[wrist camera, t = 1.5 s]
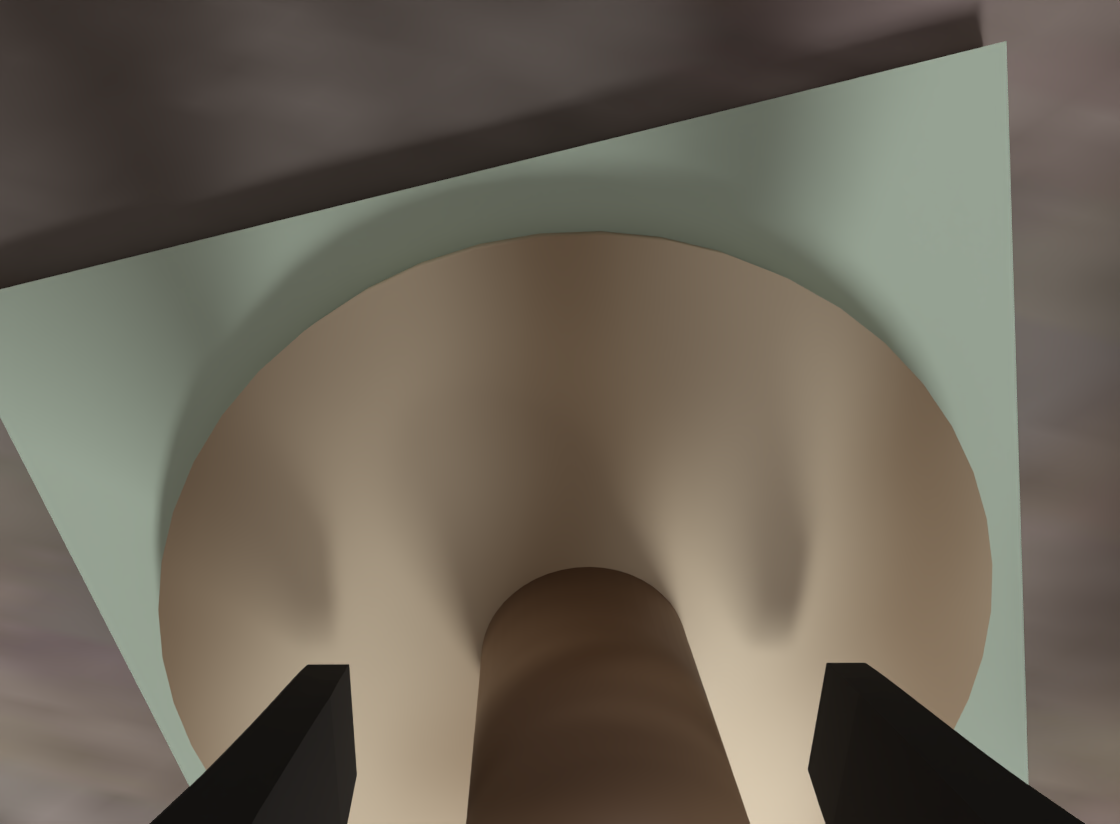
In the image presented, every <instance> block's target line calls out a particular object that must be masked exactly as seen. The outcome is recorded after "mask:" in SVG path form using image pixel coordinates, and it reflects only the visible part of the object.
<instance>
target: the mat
mask: <svg viewBox="0 0 1120 824" xmlns="http://www.w3.org/2000/svg"><path fill="white" fill-rule="evenodd" d="M591 231H604V232H614V233H625V234H635V235H646V236H656V237H663V238H667V239H671V240H675V241H680V242H684V243H688V244H692V245H696V246H701V247H705V248H709V249H713V250H718V251H720V252H723V253H725V254H728V255H730V256H733V257H736V258H738V259H741V260H743V261H746V262H748V263H751V264H753V265H756V266H759V267H761V268H764V269H766V270H769V271H771V272H774V273H776V274H778V275H781V276H783V277H785V278H788V279H790V280H792V281H793V282H795V283H797V284H799V285H800V286H802V287H804V288H806V289H808V290H809V291H811V292H813V293H815V294H816V295H818V296H820V297H822V298H823V299H825V300H827V301H829V302H830V303H832V304H834V305H836V306H837V307H839V308H841V309H842V310H843V311H845V312H846V313H847V314H849V315H850V316H851V317H852V318H854V319H855V320H856V321H858V322H859V323H860V324H861V325H863V326H864V327H865V328H866V329H868V330H869V331H870V332H872V333H873V334H874V335H875V336H877V337H878V338H879V339H880V340H882V341H883V342H884V343H886V345H887V346H888V347H889V348H890V349H891V350H892V351H893V352H894V353H895V354H896V355H897V356H898V357H899V358H900V359H901V361H902V362H903V363H904V364H905V365H906V366H907V367H908V368H909V369H910V370H911V371H912V372H913V373H914V374H915V375H916V376H917V378H918V379H919V380H920V381H921V382H922V383H923V384H924V386H925V387H926V389H927V390H928V392H929V393H930V395H931V396H932V398H933V399H934V400H935V402H936V403H937V405H938V406H939V408H940V409H941V411H942V412H943V414H944V415H945V417H946V418H947V420H948V421H949V423H950V424H951V425H952V427H953V429H954V431H955V434H956V436H957V438H958V440H959V442H960V444H961V446H962V449H963V451H964V453H965V455H966V457H967V459H968V461H969V463H970V466H971V468H972V470H973V472H974V476H975V479H976V483H977V486H978V490H979V493H980V497H981V500H982V504H983V507H984V511H985V514H986V517H987V524H988V533H989V541H990V549H991V557H992V565H993V566H992V597H991V615H990V620H989V626H988V631H987V637H986V642H985V648H984V653H983V658H982V661H981V664H980V667H979V670H978V673H977V676H976V679H975V682H974V685H973V688H972V691H971V694H970V697H969V700H968V702H967V704H966V706H965V708H964V710H963V712H962V714H961V716H960V718H959V720H958V722H957V724H956V726H955V728H954V730H955V731H956V732H958V733H959V734H960V735H962V736H963V737H964V738H965V739H967V740H968V741H969V742H971V743H972V744H973V745H975V746H976V747H977V748H979V749H980V750H981V751H983V752H984V753H985V754H987V755H988V756H989V757H991V758H992V759H993V760H995V761H996V762H998V763H999V764H1000V765H1002V766H1003V767H1004V768H1006V769H1007V770H1008V771H1010V772H1011V773H1013V774H1014V775H1015V776H1017V777H1018V778H1020V779H1021V780H1022V781H1024V782H1025V783H1026V784H1028V754H1027V721H1026V687H1025V653H1024V619H1023V586H1022V552H1021V518H1020V484H1019V451H1018V417H1017V383H1016V349H1015V316H1014V282H1013V248H1012V214H1011V181H1010V147H1009V113H1008V79H1007V46H1006V41H1005V42H1001V43H997V44H993V45H989V46H984V47H980V48H976V49H972V50H968V51H964V52H960V53H956V54H952V55H948V56H944V57H940V58H936V59H932V60H928V61H924V62H920V63H916V64H912V65H907V66H903V67H899V68H895V69H891V70H887V71H883V72H879V73H875V74H871V75H867V76H863V77H859V78H855V79H851V80H847V81H843V82H839V83H835V84H830V85H826V86H822V87H818V88H814V89H810V90H806V91H802V92H798V93H794V94H790V95H786V96H782V97H778V98H774V99H770V100H766V101H762V102H758V103H753V104H749V105H745V106H741V107H737V108H733V109H729V110H725V111H721V112H717V113H713V114H709V115H705V116H701V117H697V118H693V119H689V120H685V121H681V122H676V123H672V124H668V125H664V126H660V127H656V128H652V129H648V130H644V131H640V132H636V133H632V134H628V135H624V136H620V137H616V138H612V139H608V140H604V141H599V142H595V143H591V144H587V145H583V146H579V147H575V148H571V149H567V150H563V151H559V152H555V153H551V154H547V155H543V156H539V157H535V158H531V159H527V160H522V161H518V162H514V163H510V164H506V165H502V166H498V167H494V168H490V169H486V170H482V171H478V172H474V173H470V174H466V175H462V176H458V177H454V178H450V179H445V180H441V181H437V182H433V183H429V184H425V185H421V186H417V187H413V188H409V189H405V190H401V191H397V192H393V193H389V194H385V195H381V196H377V197H373V198H368V199H364V200H360V201H356V202H352V203H348V204H344V205H340V206H336V207H332V208H328V209H324V210H320V211H316V212H312V213H308V214H304V215H300V216H296V217H291V218H287V219H283V220H279V221H275V222H271V223H267V224H263V225H259V226H255V227H251V228H247V229H243V230H239V231H235V232H231V233H227V234H223V235H219V236H215V237H210V238H206V239H202V240H198V241H194V242H190V243H186V244H182V245H178V246H174V247H170V248H166V249H162V250H158V251H154V252H150V253H146V254H142V255H138V256H133V257H129V258H125V259H121V260H117V261H113V262H109V263H105V264H101V265H97V266H93V267H89V268H85V269H81V270H77V271H73V272H69V273H65V274H61V275H56V276H52V277H48V278H44V279H40V280H36V281H32V282H28V283H24V284H20V285H16V286H12V287H8V288H4V289H0V418H1V420H2V422H3V424H4V426H5V427H6V429H7V431H8V433H9V435H10V437H11V439H12V441H13V443H14V445H15V447H16V449H17V451H18V453H19V455H20V457H21V459H22V461H23V463H24V465H25V466H26V468H27V470H28V472H29V474H30V476H31V478H32V480H33V482H34V484H35V486H36V488H37V490H38V492H39V494H40V496H41V498H42V500H43V502H44V504H45V505H46V507H47V509H48V511H49V513H50V515H51V517H52V519H53V521H54V523H55V525H56V527H57V529H58V531H59V533H60V535H61V537H62V539H63V541H64V543H65V544H66V546H67V548H68V550H69V552H70V554H71V556H72V558H73V560H74V562H75V564H76V566H77V568H78V570H79V572H80V574H81V576H82V578H83V580H84V582H85V583H86V585H87V587H88V589H89V591H90V593H91V595H92V597H93V599H94V601H95V603H96V605H97V607H98V609H99V611H100V613H101V615H102V617H103V619H104V621H105V622H106V624H107V626H108V628H109V630H110V632H111V634H112V636H113V638H114V640H115V642H116V644H117V646H118V648H119V650H120V652H121V654H122V656H123V658H124V660H125V661H126V663H127V665H128V667H129V669H130V671H131V673H132V675H133V677H134V679H135V681H136V683H137V685H138V687H139V689H140V691H141V693H142V695H143V697H144V699H145V700H146V702H147V704H148V706H149V708H150V710H151V712H152V714H153V716H154V718H155V720H156V722H157V724H158V726H159V728H160V730H161V732H162V734H163V736H164V738H165V739H166V741H167V743H168V745H169V747H170V749H171V751H172V753H173V755H174V757H175V759H176V761H177V763H178V765H179V767H180V769H181V771H182V773H183V775H184V777H185V778H186V780H187V782H188V784H189V786H191V785H192V784H193V783H194V782H195V781H196V780H197V779H198V778H199V777H200V776H201V775H202V774H203V773H204V772H205V771H206V769H205V767H204V766H203V764H202V762H201V761H200V759H199V757H198V756H197V754H196V752H195V751H194V749H193V747H192V746H191V743H190V741H189V738H188V736H187V734H186V731H185V729H184V726H183V724H182V722H181V719H180V717H179V715H178V712H177V710H176V707H175V705H174V702H173V698H172V694H171V690H170V686H169V682H168V678H167V674H166V670H165V666H164V662H163V658H162V647H161V636H160V625H159V614H158V606H159V592H160V577H161V563H162V558H163V553H164V549H165V545H166V540H167V536H168V532H169V528H170V523H171V519H172V515H173V511H174V509H175V506H176V504H177V501H178V499H179V496H180V494H181V491H182V489H183V487H184V484H185V482H186V479H187V477H188V474H189V472H190V469H191V467H192V464H193V462H194V461H195V459H196V457H197V456H198V454H199V452H200V451H201V449H202V447H203V446H204V444H205V442H206V441H207V439H208V437H209V436H210V434H211V433H212V431H213V429H214V428H215V426H216V424H217V423H218V421H219V419H220V418H221V416H222V415H223V413H224V412H225V411H226V410H227V409H228V407H229V406H230V405H231V404H232V403H233V402H234V400H235V399H236V398H237V397H238V396H239V394H240V393H241V392H242V391H243V390H244V388H245V387H246V386H247V385H248V384H249V382H250V381H251V380H252V379H253V378H254V376H255V375H256V374H257V373H258V372H259V371H260V370H261V369H262V368H263V367H264V366H265V365H266V364H268V363H269V362H270V361H271V360H272V359H273V358H274V357H275V356H277V355H278V354H279V353H280V352H281V351H282V350H283V349H284V348H286V347H287V346H288V345H289V344H290V343H291V342H292V341H293V340H295V339H296V338H297V337H298V336H299V335H300V334H301V333H302V332H304V331H305V330H306V329H308V328H309V327H310V326H312V325H313V324H314V323H316V322H317V321H318V320H320V319H321V318H323V317H324V316H326V315H327V314H329V313H330V312H332V311H333V310H335V309H336V308H338V307H339V306H341V305H343V304H344V303H346V302H347V301H349V300H350V299H352V298H353V297H355V296H356V295H358V294H359V293H361V292H362V291H364V290H365V289H367V288H369V287H371V286H373V285H375V284H377V283H379V282H381V281H383V280H385V279H387V278H390V277H392V276H394V275H396V274H398V273H400V272H402V271H404V270H406V269H408V268H411V267H413V266H415V265H417V264H419V263H421V262H424V261H427V260H430V259H434V258H437V257H440V256H443V255H446V254H449V253H452V252H456V251H459V250H462V249H465V248H468V247H471V246H474V245H478V244H482V243H488V242H494V241H499V240H505V239H511V238H516V237H522V236H528V235H533V234H539V233H565V232H591Z"/></svg>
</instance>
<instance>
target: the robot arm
mask: <svg viewBox="0 0 1120 824" xmlns="http://www.w3.org/2000/svg"><path fill="white" fill-rule="evenodd" d="M808 772H809V775H810V778H811V782H812V785H813V788H814V791H815V794H816V797H817V800H818V804H819V807H820V810H821V812H822V815H823V818H824V821H825V824H1085V823H1083V822H1082V821H1080V820H1079V819H1077V818H1076V817H1074V816H1073V815H1071V814H1070V813H1068V812H1067V811H1065V810H1064V809H1063V808H1061V807H1060V806H1058V805H1057V804H1055V803H1054V802H1052V801H1051V800H1050V799H1048V798H1047V797H1045V796H1044V795H1042V794H1041V793H1039V792H1038V791H1037V790H1035V789H1034V788H1032V787H1031V786H1029V785H1028V784H1026V783H1025V782H1024V781H1022V780H1021V779H1020V778H1018V777H1017V776H1015V775H1014V774H1013V773H1011V772H1010V771H1008V770H1007V769H1006V768H1004V767H1003V766H1002V765H1000V764H999V763H998V762H996V761H995V760H993V759H992V758H991V757H989V756H988V755H987V754H985V753H984V752H983V751H981V750H980V749H979V748H977V747H976V746H975V745H973V744H972V743H971V742H969V741H968V740H967V739H965V738H964V737H963V736H962V735H960V734H959V733H958V732H956V731H955V730H954V729H952V728H951V727H950V726H949V725H947V724H946V723H945V722H943V721H942V720H941V719H939V718H938V717H937V716H936V715H934V714H933V713H932V712H930V711H929V710H928V709H927V708H925V707H924V706H923V705H921V704H920V703H919V702H918V701H916V700H915V699H914V698H912V697H911V696H910V695H909V694H907V693H906V692H905V691H903V690H902V689H901V688H899V687H898V686H897V685H896V684H894V683H893V682H892V681H890V680H889V679H888V678H886V677H885V676H884V675H882V674H881V673H879V672H878V671H877V670H875V669H874V668H872V667H871V666H870V665H868V664H867V663H826V668H825V674H824V679H823V685H822V691H821V696H820V702H819V708H818V713H817V719H816V725H815V730H814V736H813V742H812V747H811V753H810V759H809V764H808ZM356 777H357V768H356V754H355V740H354V725H353V711H352V697H351V682H350V668H349V664H307V665H306V666H305V667H304V668H303V669H302V670H301V671H300V672H299V673H298V674H297V675H296V676H295V677H294V678H293V679H292V680H291V682H290V683H289V684H288V685H287V686H286V687H285V688H284V689H283V690H282V691H281V692H280V694H279V695H278V696H277V697H276V698H275V699H274V700H273V701H272V702H271V703H270V704H269V706H268V707H267V708H266V709H265V710H264V711H263V712H262V713H261V714H260V715H259V716H258V717H257V718H256V719H255V721H254V722H253V723H252V724H251V725H250V726H249V727H248V728H247V729H246V730H245V731H244V732H243V733H242V734H241V735H240V736H239V737H238V738H237V739H236V740H235V741H234V742H233V744H232V745H231V746H230V747H229V748H228V749H227V750H226V751H225V752H224V753H223V754H222V755H221V756H220V757H219V758H218V759H217V760H216V761H215V762H214V763H213V764H212V765H211V766H210V767H209V768H208V769H207V770H206V771H205V772H204V773H203V774H202V775H201V776H200V777H199V778H198V779H197V780H196V781H195V782H194V783H193V784H192V785H191V786H189V787H188V788H187V789H186V790H185V791H184V792H183V793H182V794H181V795H180V796H179V797H178V798H177V799H176V800H175V801H173V802H172V803H171V804H170V805H169V806H168V807H167V808H166V809H165V810H164V811H163V812H162V813H161V814H160V815H158V816H157V817H156V818H155V819H154V820H153V821H152V822H151V823H150V824H347V823H348V818H349V813H350V808H351V803H352V798H353V792H354V787H355V782H356Z"/></svg>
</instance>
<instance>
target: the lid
mask: <svg viewBox="0 0 1120 824" xmlns="http://www.w3.org/2000/svg"><path fill="white" fill-rule="evenodd" d="M992 566H993V565H992V557H991V549H990V541H989V533H988V524H987V517H986V514H985V511H984V507H983V504H982V500H981V497H980V493H979V490H978V486H977V483H976V479H975V476H974V472H973V470H972V468H971V466H970V463H969V461H968V459H967V457H966V455H965V453H964V451H963V449H962V446H961V444H960V442H959V440H958V438H957V436H956V434H955V431H954V429H953V427H952V425H951V424H950V423H949V421H948V420H947V418H946V417H945V415H944V414H943V412H942V411H941V409H940V408H939V406H938V405H937V403H936V402H935V400H934V399H933V398H932V396H931V395H930V393H929V392H928V390H927V389H926V387H925V386H924V384H923V383H922V382H921V381H920V380H919V379H918V378H917V376H916V375H915V374H914V373H913V372H912V371H911V370H910V369H909V368H908V367H907V366H906V365H905V364H904V363H903V362H902V361H901V359H900V358H899V357H898V356H897V355H896V354H895V353H894V352H893V351H892V350H891V349H890V348H889V347H888V346H887V345H886V343H884V342H883V341H882V340H880V339H879V338H878V337H877V336H875V335H874V334H873V333H872V332H870V331H869V330H868V329H866V328H865V327H864V326H863V325H861V324H860V323H859V322H858V321H856V320H855V319H854V318H852V317H851V316H850V315H849V314H847V313H846V312H845V311H843V310H842V309H841V308H839V307H837V306H836V305H834V304H832V303H830V302H829V301H827V300H825V299H823V298H822V297H820V296H818V295H816V294H815V293H813V292H811V291H809V290H808V289H806V288H804V287H802V286H800V285H799V284H797V283H795V282H793V281H792V280H790V279H788V278H785V277H783V276H781V275H778V274H776V273H774V272H771V271H769V270H766V269H764V268H761V267H759V266H756V265H753V264H751V263H748V262H746V261H743V260H741V259H738V258H736V257H733V256H730V255H728V254H725V253H723V252H720V251H718V250H713V249H709V248H705V247H701V246H696V245H692V244H688V243H684V242H680V241H675V240H671V239H667V238H663V237H656V236H646V235H635V234H625V233H614V232H604V231H591V232H565V233H539V234H533V235H528V236H522V237H516V238H511V239H505V240H499V241H494V242H488V243H482V244H478V245H474V246H471V247H468V248H465V249H462V250H459V251H456V252H452V253H449V254H446V255H443V256H440V257H437V258H434V259H430V260H427V261H424V262H421V263H419V264H417V265H415V266H413V267H411V268H408V269H406V270H404V271H402V272H400V273H398V274H396V275H394V276H392V277H390V278H387V279H385V280H383V281H381V282H379V283H377V284H375V285H373V286H371V287H369V288H367V289H365V290H364V291H362V292H361V293H359V294H358V295H356V296H355V297H353V298H352V299H350V300H349V301H347V302H346V303H344V304H343V305H341V306H339V307H338V308H336V309H335V310H333V311H332V312H330V313H329V314H327V315H326V316H324V317H323V318H321V319H320V320H318V321H317V322H316V323H314V324H313V325H312V326H310V327H309V328H308V329H306V330H305V331H304V332H302V333H301V334H300V335H299V336H298V337H297V338H296V339H295V340H293V341H292V342H291V343H290V344H289V345H288V346H287V347H286V348H284V349H283V350H282V351H281V352H280V353H279V354H278V355H277V356H275V357H274V358H273V359H272V360H271V361H270V362H269V363H268V364H266V365H265V366H264V367H263V368H262V369H261V370H260V371H259V372H258V373H257V374H256V375H255V376H254V378H253V379H252V380H251V381H250V382H249V384H248V385H247V386H246V387H245V388H244V390H243V391H242V392H241V393H240V394H239V396H238V397H237V398H236V399H235V400H234V402H233V403H232V404H231V405H230V406H229V407H228V409H227V410H226V411H225V412H224V413H223V415H222V416H221V418H220V419H219V421H218V423H217V424H216V426H215V428H214V429H213V431H212V433H211V434H210V436H209V437H208V439H207V441H206V442H205V444H204V446H203V447H202V449H201V451H200V452H199V454H198V456H197V457H196V459H195V461H194V462H193V464H192V467H191V469H190V472H189V474H188V477H187V479H186V482H185V484H184V487H183V489H182V491H181V494H180V496H179V499H178V501H177V504H176V506H175V509H174V511H173V515H172V519H171V523H170V528H169V532H168V536H167V540H166V545H165V549H164V553H163V558H162V563H161V577H160V592H159V606H158V614H159V625H160V636H161V647H162V658H163V662H164V666H165V670H166V674H167V678H168V682H169V686H170V690H171V694H172V698H173V702H174V705H175V707H176V710H177V712H178V715H179V717H180V719H181V722H182V724H183V726H184V729H185V731H186V734H187V736H188V738H189V741H190V743H191V746H192V747H193V749H194V751H195V752H196V754H197V756H198V757H199V759H200V761H201V762H202V764H203V766H204V767H205V769H206V770H207V769H208V768H209V767H210V766H211V765H212V764H213V763H214V762H215V761H216V760H217V759H218V758H219V757H220V756H221V755H222V754H223V753H224V752H225V751H226V750H227V749H228V748H229V747H230V746H231V745H232V744H233V742H234V741H235V740H236V739H237V738H238V737H239V736H240V735H241V734H242V733H243V732H244V731H245V730H246V729H247V728H248V727H249V726H250V725H251V724H252V723H253V722H254V721H255V719H256V718H257V717H258V716H259V715H260V714H261V713H262V712H263V711H264V710H265V709H266V708H267V707H268V706H269V704H270V703H271V702H272V701H273V700H274V699H275V698H276V697H277V696H278V695H279V694H280V692H281V691H282V690H283V689H284V688H285V687H286V686H287V685H288V684H289V683H290V682H291V680H292V679H293V678H294V677H295V676H296V675H297V674H298V673H299V672H300V671H301V670H302V669H303V668H304V667H305V666H306V665H307V664H349V668H350V682H351V697H352V711H353V725H354V740H355V754H356V768H357V777H356V782H355V787H354V792H353V798H352V803H351V808H350V813H349V818H348V823H347V824H825V821H824V818H823V815H822V812H821V810H820V807H819V804H818V800H817V797H816V794H815V791H814V788H813V785H812V782H811V778H810V775H809V772H808V764H809V759H810V753H811V747H812V742H813V736H814V730H815V725H816V719H817V713H818V708H819V702H820V696H821V691H822V685H823V679H824V674H825V668H826V663H867V664H868V665H870V666H871V667H872V668H874V669H875V670H877V671H878V672H879V673H881V674H882V675H884V676H885V677H886V678H888V679H889V680H890V681H892V682H893V683H894V684H896V685H897V686H898V687H899V688H901V689H902V690H903V691H905V692H906V693H907V694H909V695H910V696H911V697H912V698H914V699H915V700H916V701H918V702H919V703H920V704H921V705H923V706H924V707H925V708H927V709H928V710H929V711H930V712H932V713H933V714H934V715H936V716H937V717H938V718H939V719H941V720H942V721H943V722H945V723H946V724H947V725H949V726H950V727H951V728H952V729H954V728H955V726H956V724H957V722H958V720H959V718H960V716H961V714H962V712H963V710H964V708H965V706H966V704H967V702H968V700H969V697H970V694H971V691H972V688H973V685H974V682H975V679H976V676H977V673H978V670H979V667H980V664H981V661H982V658H983V653H984V648H985V642H986V637H987V631H988V626H989V620H990V615H991V597H992Z"/></svg>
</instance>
